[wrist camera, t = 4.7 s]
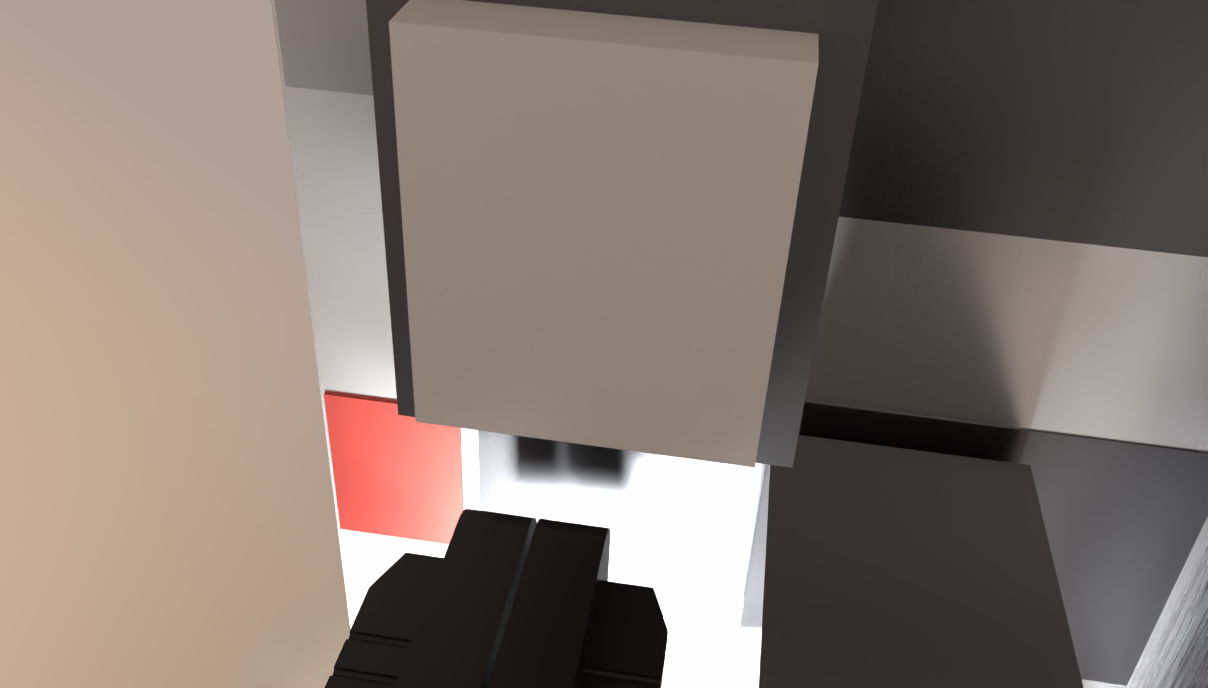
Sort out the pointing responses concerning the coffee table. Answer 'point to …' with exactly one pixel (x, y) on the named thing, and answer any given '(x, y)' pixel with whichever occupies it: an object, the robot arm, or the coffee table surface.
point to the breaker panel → (864, 324)
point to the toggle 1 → (614, 213)
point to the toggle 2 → (901, 575)
